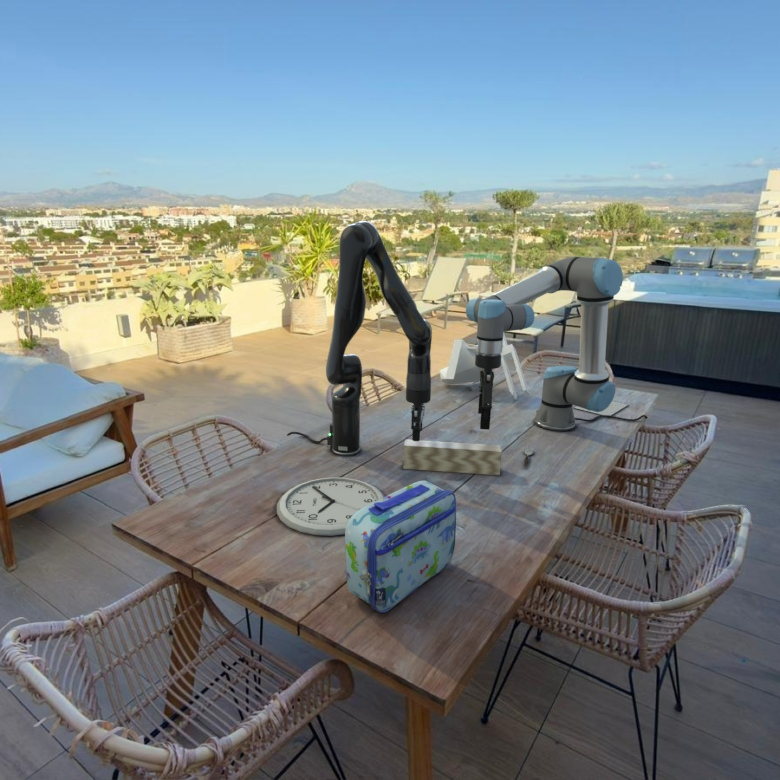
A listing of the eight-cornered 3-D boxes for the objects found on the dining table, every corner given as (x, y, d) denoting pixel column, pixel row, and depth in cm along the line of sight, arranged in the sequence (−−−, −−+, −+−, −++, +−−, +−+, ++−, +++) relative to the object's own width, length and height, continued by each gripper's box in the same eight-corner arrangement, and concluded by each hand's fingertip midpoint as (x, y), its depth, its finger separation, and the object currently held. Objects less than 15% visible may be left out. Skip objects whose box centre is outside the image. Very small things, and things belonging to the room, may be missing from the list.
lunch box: (374, 626, 100) (375, 530, 93) (338, 598, 107) (337, 508, 101) (459, 568, 117) (465, 484, 111) (424, 547, 124) (427, 467, 118)
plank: (498, 468, 167) (500, 445, 164) (499, 475, 162) (501, 451, 160) (404, 462, 170) (405, 439, 168) (403, 468, 165) (404, 445, 163)
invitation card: (608, 416, 214) (573, 407, 224) (608, 416, 214) (573, 408, 224) (628, 404, 229) (594, 396, 238) (628, 405, 229) (594, 397, 238)
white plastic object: (461, 429, 252) (437, 405, 227) (444, 352, 274) (420, 323, 250) (535, 404, 240) (518, 377, 215) (510, 326, 262) (492, 293, 237)
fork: (520, 467, 167) (520, 462, 166) (525, 449, 181) (526, 443, 181) (528, 469, 166) (529, 463, 165) (533, 450, 180) (533, 444, 180)
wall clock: (392, 527, 129) (268, 531, 127) (391, 533, 130) (269, 537, 127) (383, 473, 158) (282, 475, 155) (383, 478, 158) (282, 480, 156)
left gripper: (408, 379, 166) (407, 427, 170) (403, 391, 152) (402, 443, 157) (432, 380, 165) (430, 428, 169) (429, 393, 151) (427, 445, 156)
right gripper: (474, 343, 166) (470, 406, 172) (477, 363, 142) (472, 435, 149) (498, 344, 165) (493, 408, 171) (505, 364, 141) (499, 437, 148)
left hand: (417, 435), depth 163 cm, fingers open, 8 cm apart
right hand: (483, 420), depth 160 cm, fingers open, 13 cm apart
